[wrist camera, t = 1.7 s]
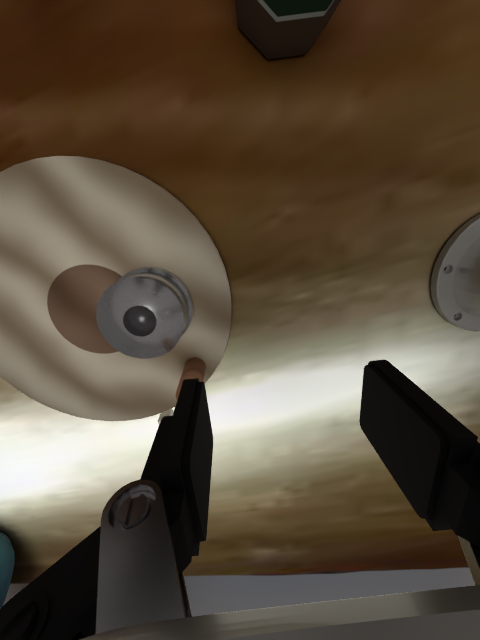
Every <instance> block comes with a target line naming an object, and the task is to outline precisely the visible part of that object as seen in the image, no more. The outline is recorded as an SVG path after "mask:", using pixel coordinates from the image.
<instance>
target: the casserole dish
mask: <svg viewBox="0 0 480 640" xmlns="http://www.w3.org/2000/svg"><path fill="white" fill-rule="evenodd" d="M14 562H15V554H14V549H13V546H12V545H11V541H10V539H9V538H8V537H7V536H6V535H5V534H3V533H1V532H0V609H1V608H2V607H3V604H4V601H5V598H6V595H7V592H8V588H9V585H10V582H11V578H12V574H13V569H14Z"/></svg>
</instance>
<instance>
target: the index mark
mask: <svg viewBox="0 0 480 640" xmlns="http://www.w3.org/2000/svg"><path fill="white" fill-rule="evenodd" d="M173 413H174V412H173V411H172V409H170V410H167V411H165V412H162V413H161V414H160V417H159V419H158V423H159V425H160V422H161V420H162V418H163V417H164V416H172V415H173Z"/></svg>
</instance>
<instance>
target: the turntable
mask: <svg viewBox="0 0 480 640" xmlns="http://www.w3.org/2000/svg"><path fill="white" fill-rule="evenodd" d="M142 267H156V268H161V269H164V270H167V271H169V272H171V273H173V274H174V275H175V276H177V277H178V278H179V279H180V280H181V281H182V282H183V283H184V284H185V285H186V287H187V288H188V290H189V292H190V294H191V297H192V301H193V316H192V319H191V322H190V325H189V327H188V329H187V330H186V331H185V333H184V334H183V335H182V336H181V338H180V339H179V341H178V343H177V344H176V345H175V347H174V348H172V349H171V350H170V351H169V352H167V353H166V354H164V355H162V356H159V357H155V358H150V359H140V358H134V357H130V356H127V355H125V354H123V353H121V352H119V351H117V350H116V349H115V348H113V347H112V346H111V345H110V344H109V343H108V342H107V341H106V340H105V338H104V337H103V335H102V334H101V332H100V330H99V327H98V324H97V319H96V309H97V304H98V301H99V299H100V297H101V296H102V294H103V293H104V291H105V290H106V289H107V288H109V287H110V286H111V285H113V284H114V283H116V282H117V281H118V280H119V279H120V278H121V277H122V276H123V275H125V274H127V273H128V272H130V271H133V270H135V269H138V268H142ZM230 327H231V293H230V286H229V281H228V277H227V273H226V270H225V266H224V264H223V261H222V259H221V257H220V254H219V252H218V249H217V248H216V246H215V244H214V243H213V241H212V239H211V237H210V236H209V234H208V232H207V231H206V230H205V228H204V227H203V226H202V224H201V223H200V222H199V221H198V219H197V218H196V217H195V216H194V215H193V214H192V213H191V212H190V211H189V210H188V209H187V208H186V206H185V205H184V204H183V203H181V202H180V201H179V200H178V199H176V198H175V197H174V196H173V195H171V194H170V193H169V192H168V191H167V190H165V189H163V188H162V187H160V186H158V185H157V184H155V183H154V182H152V181H150V180H149V179H147V178H145V177H144V176H142V175H139V174H137V173H135V172H133V171H131V170H129V169H126V168H124V167H122V166H118V165H115V164H112V163H109V162H106V161H102V160H97V159H91V158H85V157H79V156H53V157H45V158H37V159H33V160H30V161H26V162H23V163H19V164H16V165H14V166H12V167H10V168H8V169H6V170H4V171H2V172H0V376H1V377H2V378H3V379H4V380H6V381H7V382H8V383H10V384H11V385H12V386H13V387H15V388H16V389H17V390H19V391H21V392H22V393H24V394H25V395H27V396H28V397H30V398H32V399H34V400H36V401H37V402H39V403H41V404H43V405H45V406H48V407H50V408H53V409H55V410H58V411H60V412H63V413H66V414H70V415H73V416H77V417H82V418H87V419H92V420H103V421H126V420H134V419H141V418H145V417H149V416H153V415H156V414H159V413H162V412H164V411H167V410H169V409H171V408H173V407H175V406H176V403H177V400H178V396H179V393H180V390H181V386H182V383H183V380H184V379H194V378H198V379H199V382H202V381H204V384H205V382H206V381H207V380H208V379H209V378H210V377H211V375H212V374H213V372H214V371H215V369H216V367H217V366H218V364H219V362H220V360H221V358H222V356H223V353H224V351H225V349H226V345H227V342H228V338H229V334H230Z"/></svg>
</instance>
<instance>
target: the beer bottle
mask: <svg viewBox="0 0 480 640" xmlns="http://www.w3.org/2000/svg"><path fill="white" fill-rule="evenodd" d="M339 2H340V0H236V8H237V19H238V28H239V29H240V30H241V31H242V32H243V33H244V34H245V35H246V36H247V38H248V39H249V40H250V41H251V42H252V43H253V44H254V45H255V46H256V47H257V48H258V49H259V50H260V51H261V53H262V54H263V55H264V56H265V57H266V58H267V59H275V58H282V57H290V56H298V55H305V54H306V53H307V51H308V50H309V48H310V47H311V45H312V44H313V42H314V41H315V39H316V38H317V37H318V35H319V34H320V32H321V31H322V29H323V28H324V26H325V25H326V23H327V22H328V20H329V19H330V17H331V16H332V14H333V13H334V11H335V9H336V7H337V6H338V4H339Z"/></svg>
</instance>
